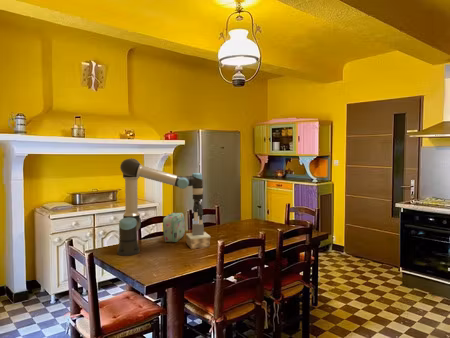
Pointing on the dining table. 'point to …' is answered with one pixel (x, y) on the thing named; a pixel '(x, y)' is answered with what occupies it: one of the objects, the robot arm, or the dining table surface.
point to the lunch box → (173, 227)
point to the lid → (198, 232)
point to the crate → (198, 243)
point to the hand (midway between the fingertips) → (198, 222)
